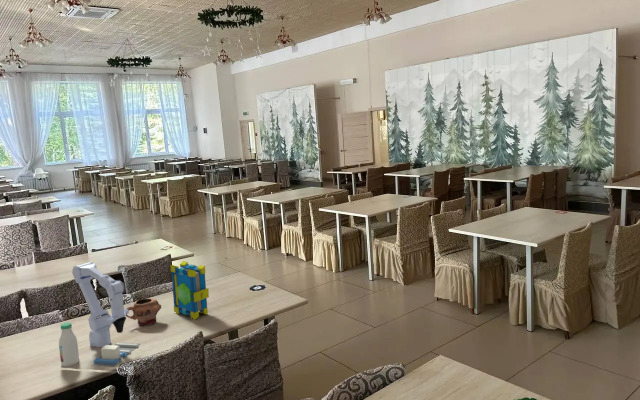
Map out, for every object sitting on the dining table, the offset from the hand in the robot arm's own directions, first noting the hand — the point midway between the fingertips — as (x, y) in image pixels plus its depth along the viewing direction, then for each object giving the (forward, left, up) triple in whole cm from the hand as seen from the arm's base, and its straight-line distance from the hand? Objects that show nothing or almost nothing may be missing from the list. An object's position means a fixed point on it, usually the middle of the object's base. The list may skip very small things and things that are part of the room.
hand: (120, 332), depth 239 cm
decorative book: (+13, +52, -11) cm, 54 cm away
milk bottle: (-18, -14, -11) cm, 25 cm away
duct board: (0, -4, -10) cm, 11 cm away
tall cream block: (0, -9, -9) cm, 13 cm away
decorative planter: (-7, +34, -11) cm, 36 cm away
